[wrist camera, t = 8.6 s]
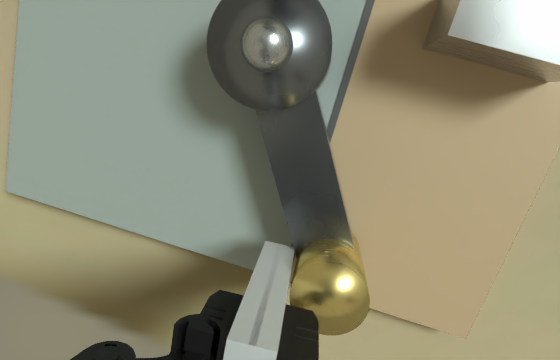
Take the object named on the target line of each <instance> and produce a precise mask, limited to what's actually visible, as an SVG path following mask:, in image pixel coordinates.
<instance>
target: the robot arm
mask: <svg viewBox="0 0 560 360" xmlns="http://www.w3.org/2000/svg"><path fill="white" fill-rule="evenodd" d="M293 257H294V247H291V246H286V245H282V244H278V243H273V242H269V241H265V243H264V246H263V248H262V251H261V253H260V256H259V259H258V261H257V264H256V266H255V269H254V271H253V274H252V276H251V279H250V281H249V284H248V286H247V289H246V292H245V294H244V296H243V295H239V294H235V293H231V292H226V291H222V290H219V291H218V292H216V293H215V294H213V295H211V296H210V297H209V299H208V301H207V302H206V304H205V307H204V308H203V309H202V311H201V313H200V314H194V315H188V316H185V317H183V318H181V319H179V320H178V321H177V322H176V323H175V324H174V331H173V338H172V345H171V352H170V354H169V355H167V356H163V357H158V358H135V357H136V355H135V353H134V350H133V349H132V348H131V347H130V346H129V345H127V344H125V343H122V342H118V341H106V342H101V343H97V344H94V345H92V346H90V347H88V348H86V349H85V350H83V351H82V352H80V353H79V354H78V355H76V356H75V357H73V358H72V359H71V360H318V358H319V342H318V340H319V334H318V332H319V321H318V319H317V317H316V316H315V314H314V312H313V311H312V310H307V309H303V308H299V307H294V306H290V305H286V299H287V293H288V287H289V281H290V275H291V269H292V263H293Z"/></svg>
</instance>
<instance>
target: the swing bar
mask: <svg viewBox="0 0 560 360" xmlns="http://www.w3.org/2000/svg"><path fill="white" fill-rule="evenodd" d="M207 56H208V61H209V65H210V67H211V70H212V73H213V75H214V77H215V79H216V80H217V82H218V83H219V85H220V86H221V88H222V89H223V90H224V91H225V92H226V93H227V94H228V95H229V96H230V97H231V98H233V99H234V100H236V101H237V102H238V103H240V104H242V105H244V106H247V107H249V108H252V109H255V111H256V114H257V118H258V121H259V125H260V129H261V132H262V136H263V139H264V143H265V147H266V150H267V154H268V157H269V161H270V165H271V168H272V172H273V175H274V179H275V183H276V186H277V190H278V193H279V197H280V201H281V204H282V208H283V211H284V215H285V218H286V222H287V226H288V229H289V233H290V236H291V240H292V244H293V247H294V251H295V254H296V258H297V260H296V265H295V270H294V275H293V280H292V285H291V290H290V305H291V306H294V307H299V308H303V309H307V310H312V311H313V312H314V314H315V316H316V317H317V319H318V321H319V332H318V333H319V334H323V335H340V334H345V333H347V332H350V331H352V330H354V329H355V328H357V327H358V326H359V325H360V324H361V323H362V322H363V321H364V319H365V318H366V316H367V314H368V311H369V307H370V296H369V291H368V286H367V281H366V276H365V271H364V266H363V261H362V256H361V251H360V246H359V243H358V241H357V238H356V237H355V235H354V234H353V233H352V232H351V228H350V224H349V220H348V216H347V212H346V207H345V203H344V199H343V195H342V191H341V187H340V183H339V179H338V174H337V170H336V166H335V162H334V158H333V154H332V150H331V146H330V142H329V137H328V133H327V129H326V125H325V121H324V117H323V113H322V109H321V104H320V100H319V96H318V92H317V90H318V89H319V88H320V87H321V85H322V84H323V82H324V80H325V78H326V76H327V74H328V71H329V68H330V64H331V57H332V32H331V26H330V23H329V20H328V17H327V14H326V12H325V10H324V8H323V7H322V5H321V3H320V2H319V0H221V1H220V3H219V4H218V6H217V7H216V9H215V11H214V13H213V15H212V18H211V20H210V23H209V27H208V32H207Z"/></svg>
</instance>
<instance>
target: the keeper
mask: <svg viewBox="0 0 560 360" xmlns="http://www.w3.org/2000/svg"><path fill="white" fill-rule="evenodd" d="M422 49H426V50H429V51H433V52H437V53H441V54H444V55H448V56H452V57H455V58H459V59H463V60H466V61H470V62H474V63H477V64H481V65H485V66H489V67H492V68H496V69H500V70H503V71H507V72H511V73H514V74H518V75H522V76H526V77H529V78H533V79H537V80H540V81H544V82H560V0H439V2H438V5H437V7H436V10H435V13H434V16H433V19H432V21H431V24H430V27H429V30H428V33H427V35H426V38H425V41H424V44H423V46H422Z"/></svg>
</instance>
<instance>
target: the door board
mask: <svg viewBox="0 0 560 360" xmlns="http://www.w3.org/2000/svg"><path fill="white" fill-rule="evenodd" d="M220 1H221V0H19V9H18V23H17V37H16V51H15V65H14V79H13V92H12V106H11V120H10V134H9V148H8V162H7V176H6V190H5V191H7V192H10V193H13V194H16V195H19V196H22V197H26V198H29V199H32V200H35V201H38V202H41V203H44V204H47V205H50V206H53V207H57V208H60V209H63V210H66V211H69V212H72V213H75V214H78V215H81V216H85V217H88V218H91V219H94V220H97V221H100V222H103V223H106V224H109V225H113V226H116V227H119V228H122V229H125V230H128V231H131V232H134V233H137V234H141V235H144V236H147V237H150V238H153V239H156V240H159V241H162V242H165V243H169V244H172V245H175V246H178V247H181V248H184V249H187V250H190V251H193V252H197V253H200V254H203V255H206V256H209V257H212V258H215V259H218V260H221V261H225V262H228V263H231V264H234V265H237V266H240V267H243V268H246V269H249V270H253V271H254V269H255V266H256V264H257V261H258V259H259V256H260V253H261V251H262V248H263V246H264V243H265V241H269V242H273V243H278V244H282V245H286V246H291V247H293V244H292V240H291V236H290V233H289V229H288V226H287V222H286V218H285V215H284V211H283V208H282V204H281V201H280V197H279V193H278V190H277V186H276V183H275V179H274V175H273V172H272V168H271V165H270V161H269V157H268V154H267V150H266V147H265V143H264V139H263V136H262V132H261V129H260V125H259V121H258V118H257V114H256V111H255V109H252V108H249V107H247V106H244V105H242V104H240V103H238V102H237V101H236V100H234V99H233V98H231V97H230V96H229V95H228V94H227V93H226V92H225V91H224V90H223V89H222V88H221V86H220V85H219V83H218V82H217V80H216V79H215V77H214V75H213V73H212V70H211V67H210V65H209V61H208V56H207V32H208V27H209V23H210V20H211V18H212V15H213V13H214V11H215V9H216V7H217V6H218V4H219V3H220ZM319 2H320V3H321V5H322V7H323V8H324V10H325V12H326V14H327V17H328V20H329V23H330V26H331V32H332V57H331V64H330V68H329V71H328V74H327V76H326V78H325V80H324V82H323V84H322V85H321V87H320V88H319V89H318V90H317V92H318V96H319V100H320V104H321V109H322V113H323V117H324V121H325V125H326V129H327V133H328V137H329V142H330V146H331V150H332V154H333V158H334V162H335V166H336V170H337V174H338V179H339V183H340V187H341V191H342V195H343V199H344V203H345V207H346V212H347V216H348V220H349V224H350V228H351V232H352V233H353V234H354V235H355V237H356V238H357V241H358V243H359V246H360V251H361V256H362V261H363V266H364V271H365V276H366V281H367V286H368V291H369V296H370V307H369V308H371V309H374V310H377V311H380V312H383V313H386V314H389V315H392V316H396V317H399V318H402V319H405V320H408V321H411V322H414V323H417V324H420V325H424V326H427V327H430V328H433V329H436V330H439V331H442V332H445V333H448V334H452V335H455V336H458V337H461V338H464V339H466V338H467V336H468V334H469V332H470V330H471V328H472V326H473V324H474V322H475V320H476V318H477V316H478V314H479V312H480V310H481V308H482V305H483V303H484V301H485V299H486V297H487V295H488V293H489V291H490V289H491V287H492V285H493V283H494V281H495V279H496V277H497V275H498V273H499V271H500V269H501V267H502V265H503V263H504V260H505V258H506V256H507V254H508V252H509V250H510V248H511V246H512V244H513V242H514V240H515V238H516V236H517V234H518V232H519V230H520V228H521V226H522V224H523V222H524V220H525V217H526V215H527V213H528V211H529V209H530V207H531V205H532V203H533V201H534V199H535V197H536V195H537V193H538V191H539V189H540V187H541V185H542V183H543V181H544V179H545V177H546V175H547V172H548V170H549V168H550V166H551V164H552V162H553V160H554V158H555V156H556V154H557V152H558V150H559V148H560V82H544V81H540V80H537V79H533V78H529V77H526V76H522V75H518V74H514V73H511V72H507V71H503V70H500V69H496V68H492V67H489V66H485V65H481V64H477V63H474V62H470V61H466V60H463V59H459V58H455V57H452V56H448V55H444V54H441V53H437V52H433V51H429V50H426V49H422V46H423V44H424V41H425V38H426V35H427V33H428V30H429V27H430V24H431V21H432V19H433V16H434V13H435V10H436V7H437V5H438V2H439V0H319ZM296 260H297V258H296V254H295V251H294V257H293V263H292V269H291V275H290V281H289V282H290V283H292V280H293V275H294V270H295V265H296Z"/></svg>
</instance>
